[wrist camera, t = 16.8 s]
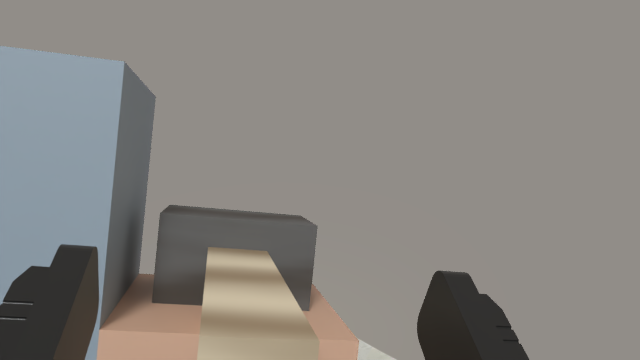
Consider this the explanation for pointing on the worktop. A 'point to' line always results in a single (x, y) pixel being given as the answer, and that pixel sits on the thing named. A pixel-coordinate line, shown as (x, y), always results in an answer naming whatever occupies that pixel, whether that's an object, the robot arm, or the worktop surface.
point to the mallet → (240, 280)
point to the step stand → (98, 199)
